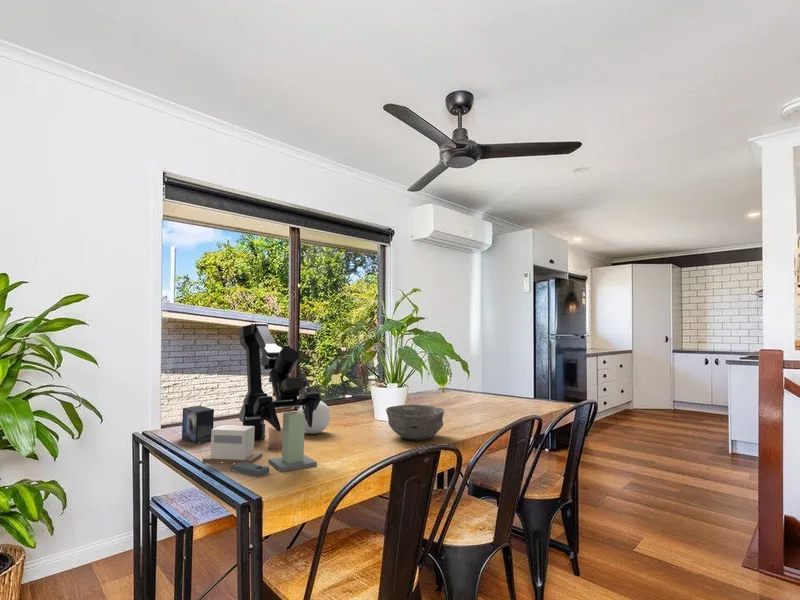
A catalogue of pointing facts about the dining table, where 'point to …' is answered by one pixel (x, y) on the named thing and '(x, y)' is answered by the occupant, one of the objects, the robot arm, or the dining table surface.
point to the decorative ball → (318, 419)
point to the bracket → (250, 469)
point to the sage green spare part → (293, 437)
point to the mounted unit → (232, 444)
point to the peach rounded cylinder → (275, 438)
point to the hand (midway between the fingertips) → (295, 428)
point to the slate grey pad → (292, 464)
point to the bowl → (415, 421)
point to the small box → (197, 423)
